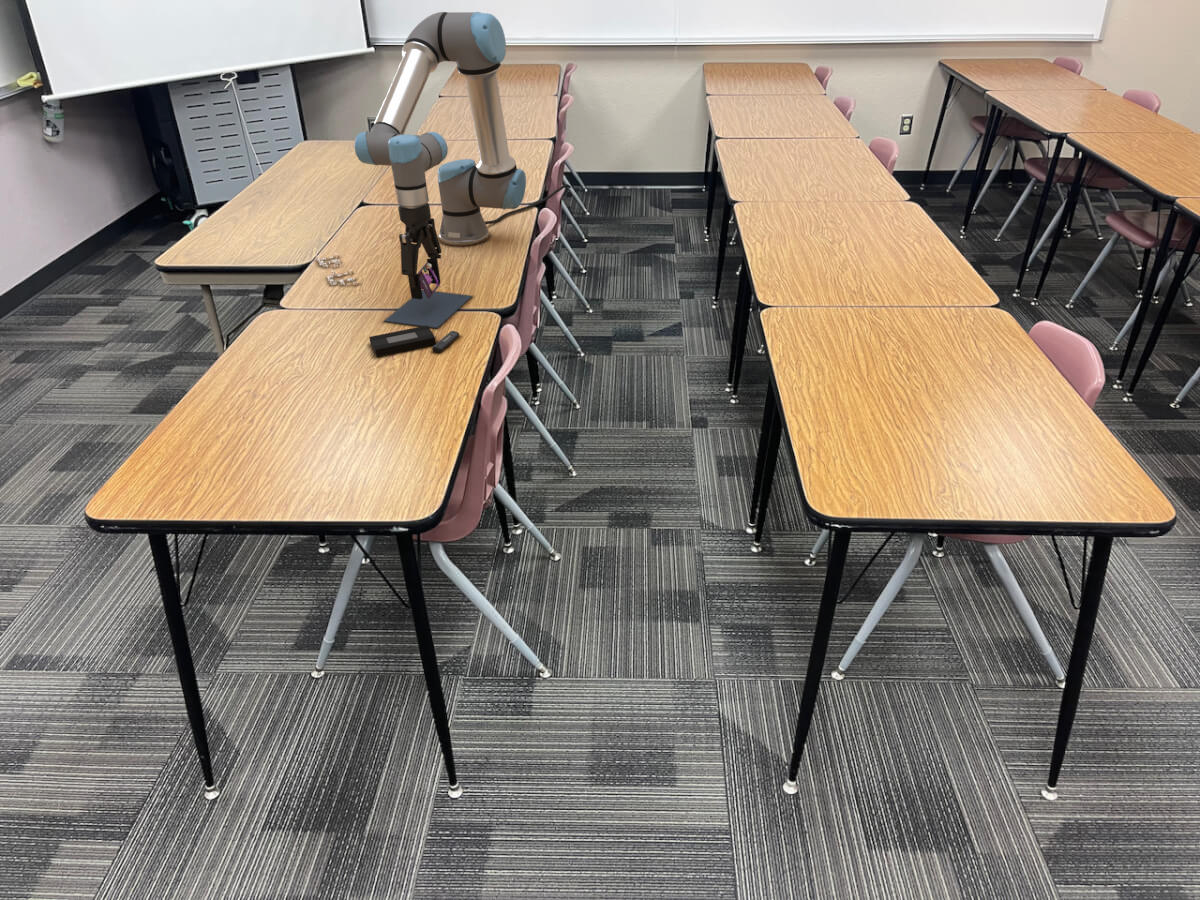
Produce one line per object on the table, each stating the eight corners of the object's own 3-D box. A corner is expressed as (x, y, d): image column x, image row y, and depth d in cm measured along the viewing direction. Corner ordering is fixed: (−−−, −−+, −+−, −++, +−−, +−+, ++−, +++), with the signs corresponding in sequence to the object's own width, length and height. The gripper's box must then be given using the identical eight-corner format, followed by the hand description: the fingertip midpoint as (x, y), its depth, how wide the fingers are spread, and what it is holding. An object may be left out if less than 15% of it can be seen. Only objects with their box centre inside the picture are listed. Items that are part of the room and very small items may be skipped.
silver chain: (340, 255, 245) (339, 251, 245) (357, 284, 227) (356, 279, 226) (316, 260, 243) (315, 255, 242) (332, 289, 224) (330, 284, 223)
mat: (422, 291, 222) (421, 289, 222) (471, 297, 218) (471, 295, 218) (384, 322, 207) (384, 320, 206) (437, 328, 203) (437, 327, 202)
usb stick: (440, 353, 192) (440, 348, 191) (431, 352, 192) (430, 346, 192) (460, 336, 199) (460, 331, 198) (451, 335, 200) (450, 329, 199)
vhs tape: (370, 344, 196) (369, 336, 195) (428, 332, 201) (427, 325, 200) (376, 357, 191) (375, 349, 190) (436, 345, 195) (435, 337, 194)
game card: (419, 273, 202) (430, 260, 209) (401, 279, 204) (413, 266, 211) (432, 297, 205) (442, 283, 213) (414, 303, 207) (425, 289, 214)
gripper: (421, 189, 206) (433, 273, 219) (376, 216, 189) (392, 306, 202) (447, 191, 204) (458, 276, 217) (404, 219, 187) (419, 309, 200)
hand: (426, 290), depth 209 cm, fingers closed on game card, 9 cm apart
